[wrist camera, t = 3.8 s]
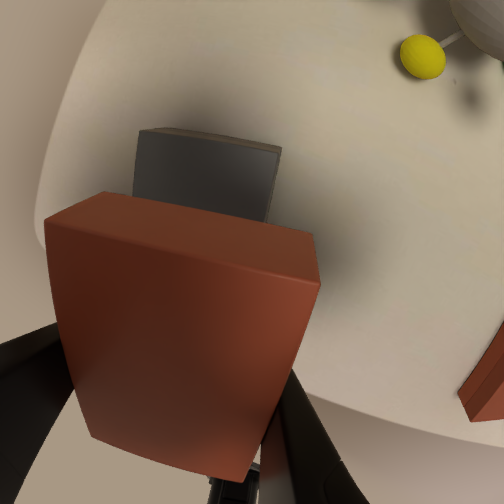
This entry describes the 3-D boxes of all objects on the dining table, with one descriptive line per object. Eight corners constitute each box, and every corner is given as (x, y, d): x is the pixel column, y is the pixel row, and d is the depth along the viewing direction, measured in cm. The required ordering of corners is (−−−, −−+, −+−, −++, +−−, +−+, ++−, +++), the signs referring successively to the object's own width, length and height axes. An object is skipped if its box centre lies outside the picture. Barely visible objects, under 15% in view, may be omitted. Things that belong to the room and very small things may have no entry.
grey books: (252, 284, 21) (243, 319, 17) (152, 261, 21) (126, 289, 17) (282, 147, 17) (280, 153, 13) (166, 127, 17) (136, 129, 14)
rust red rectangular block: (251, 429, 11) (242, 483, 8) (116, 391, 11) (90, 437, 8) (313, 232, 7) (322, 282, 5) (103, 190, 8) (42, 219, 5)
